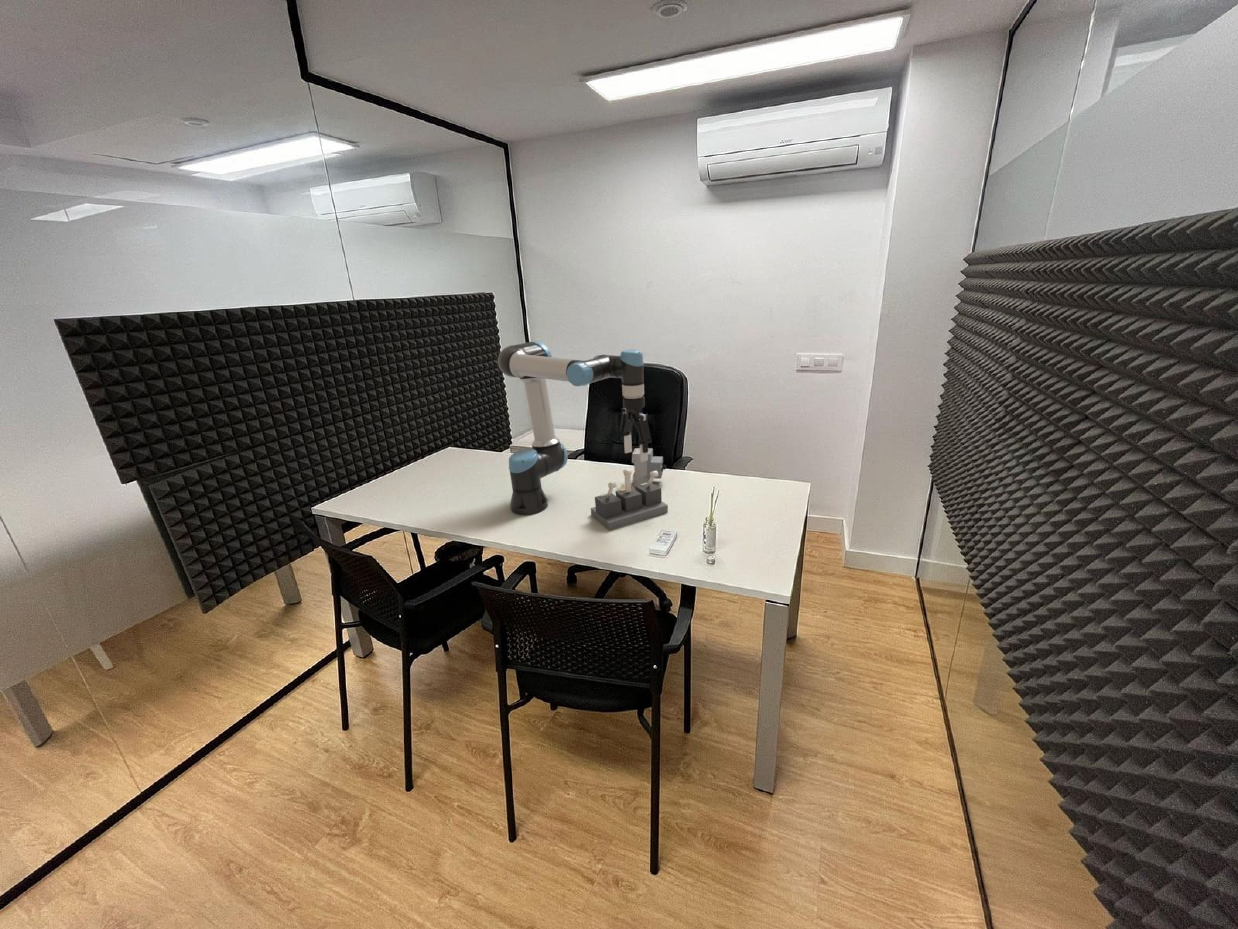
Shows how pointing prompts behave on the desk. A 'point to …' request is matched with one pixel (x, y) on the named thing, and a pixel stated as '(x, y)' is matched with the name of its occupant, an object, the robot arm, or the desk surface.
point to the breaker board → (630, 515)
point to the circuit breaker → (646, 467)
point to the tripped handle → (627, 480)
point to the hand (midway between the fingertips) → (636, 456)
